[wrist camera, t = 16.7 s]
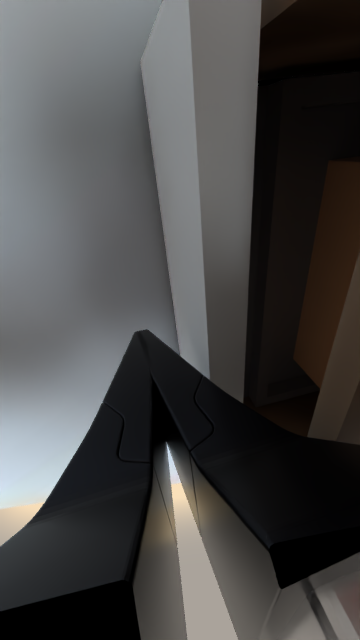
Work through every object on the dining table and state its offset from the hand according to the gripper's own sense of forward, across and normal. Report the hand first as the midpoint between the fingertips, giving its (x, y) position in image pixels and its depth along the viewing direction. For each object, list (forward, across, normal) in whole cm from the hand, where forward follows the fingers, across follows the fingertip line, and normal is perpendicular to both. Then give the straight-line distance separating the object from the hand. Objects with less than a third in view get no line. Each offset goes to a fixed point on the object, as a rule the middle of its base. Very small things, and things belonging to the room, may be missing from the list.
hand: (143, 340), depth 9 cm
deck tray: (+3, -9, 0) cm, 9 cm away
